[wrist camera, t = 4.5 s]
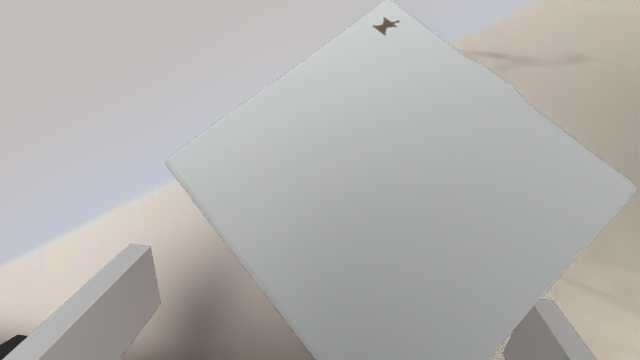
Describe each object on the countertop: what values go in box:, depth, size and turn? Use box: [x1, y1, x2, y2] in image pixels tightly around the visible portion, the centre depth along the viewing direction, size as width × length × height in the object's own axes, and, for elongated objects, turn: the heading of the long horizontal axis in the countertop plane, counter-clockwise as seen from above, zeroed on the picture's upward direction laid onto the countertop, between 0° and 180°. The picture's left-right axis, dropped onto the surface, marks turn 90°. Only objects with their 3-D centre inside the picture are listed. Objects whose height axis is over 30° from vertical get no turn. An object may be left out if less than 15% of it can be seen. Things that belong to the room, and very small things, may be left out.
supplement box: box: [165, 0, 637, 360], centre depth 15 cm, size 9×9×15 cm
